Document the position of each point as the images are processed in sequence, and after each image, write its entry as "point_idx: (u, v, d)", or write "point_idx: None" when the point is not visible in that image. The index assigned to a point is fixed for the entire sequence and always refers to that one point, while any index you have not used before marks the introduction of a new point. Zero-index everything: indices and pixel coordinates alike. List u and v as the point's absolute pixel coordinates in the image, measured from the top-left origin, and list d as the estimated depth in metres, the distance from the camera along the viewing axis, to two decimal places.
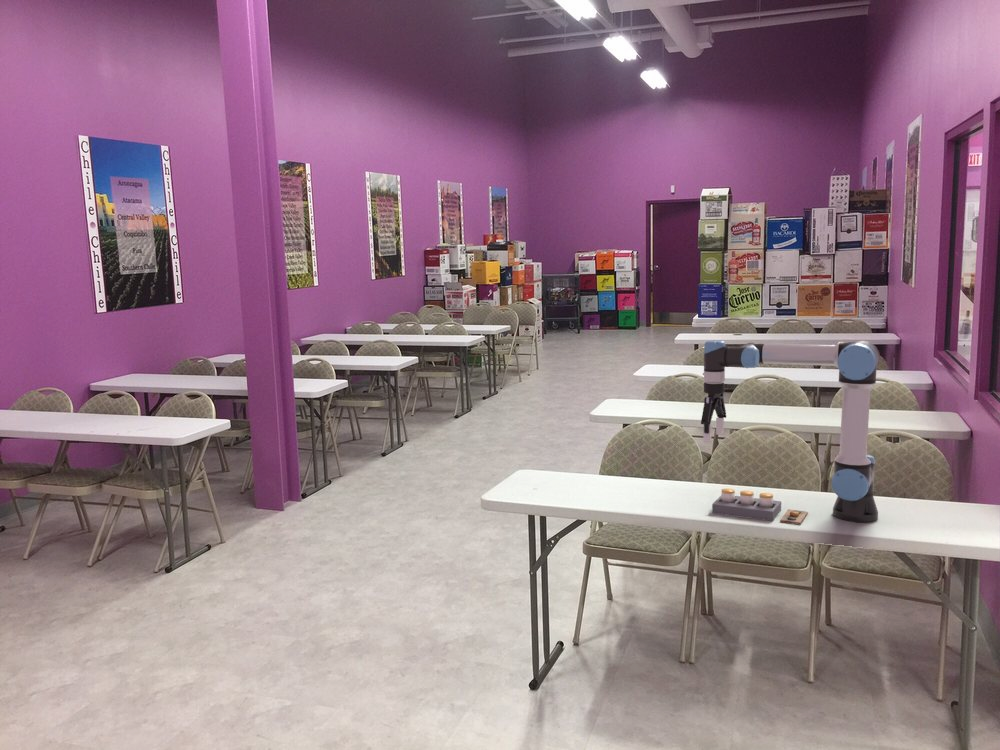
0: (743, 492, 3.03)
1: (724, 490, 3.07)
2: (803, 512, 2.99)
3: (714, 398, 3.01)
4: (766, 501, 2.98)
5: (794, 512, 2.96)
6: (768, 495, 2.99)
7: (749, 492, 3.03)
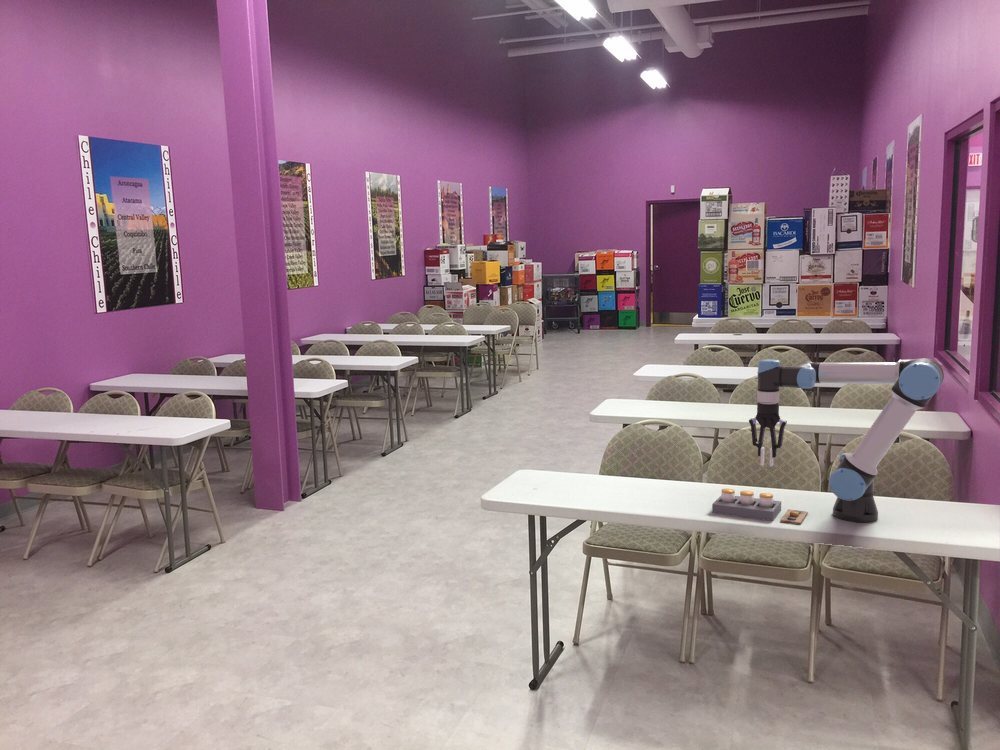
0: (743, 492, 3.03)
1: (724, 490, 3.07)
2: (803, 512, 2.99)
3: (759, 417, 2.96)
4: (766, 501, 2.98)
5: (794, 512, 2.96)
6: (768, 495, 2.99)
7: (749, 492, 3.03)
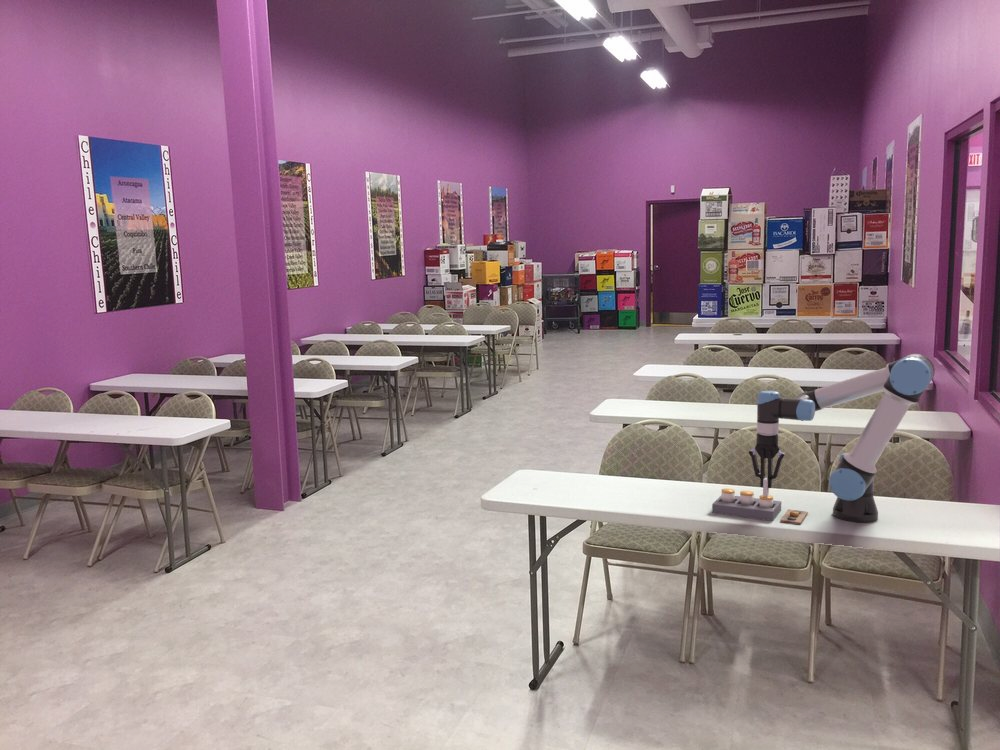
0: (743, 492, 3.03)
1: (724, 490, 3.07)
2: (803, 512, 2.99)
3: (759, 448, 2.98)
4: (766, 503, 2.98)
5: (794, 512, 2.96)
6: (768, 497, 2.99)
7: (749, 492, 3.03)
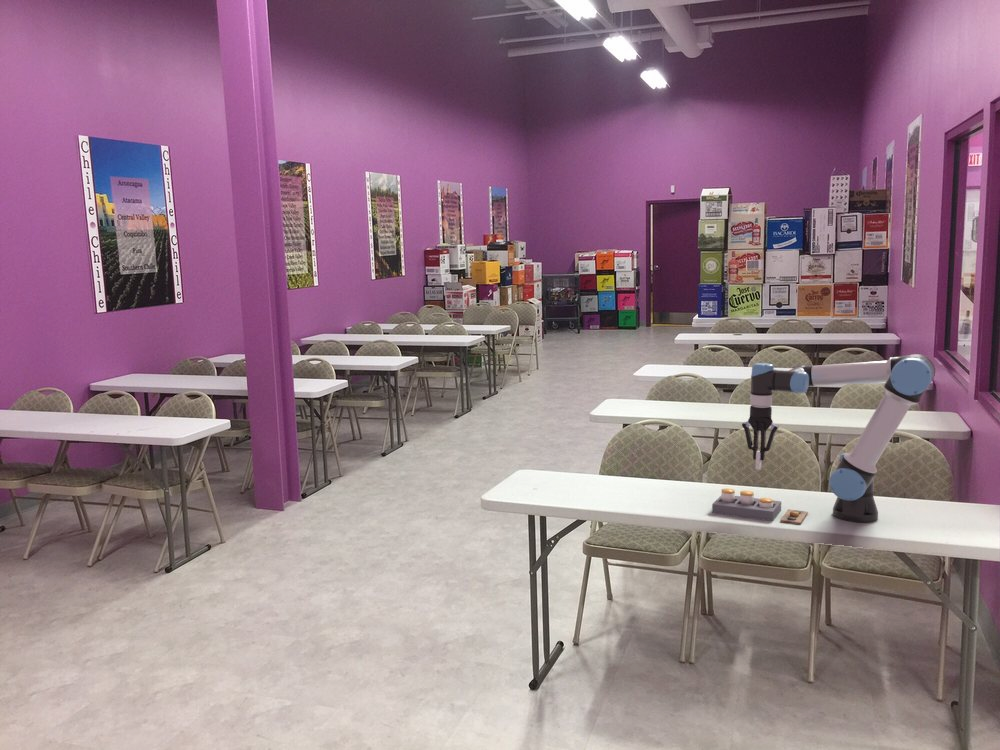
0: (743, 492, 3.03)
1: (724, 490, 3.07)
2: (803, 512, 2.99)
3: (752, 420, 2.98)
4: (766, 506, 2.98)
5: (794, 512, 2.96)
6: (768, 500, 2.99)
7: (749, 492, 3.03)
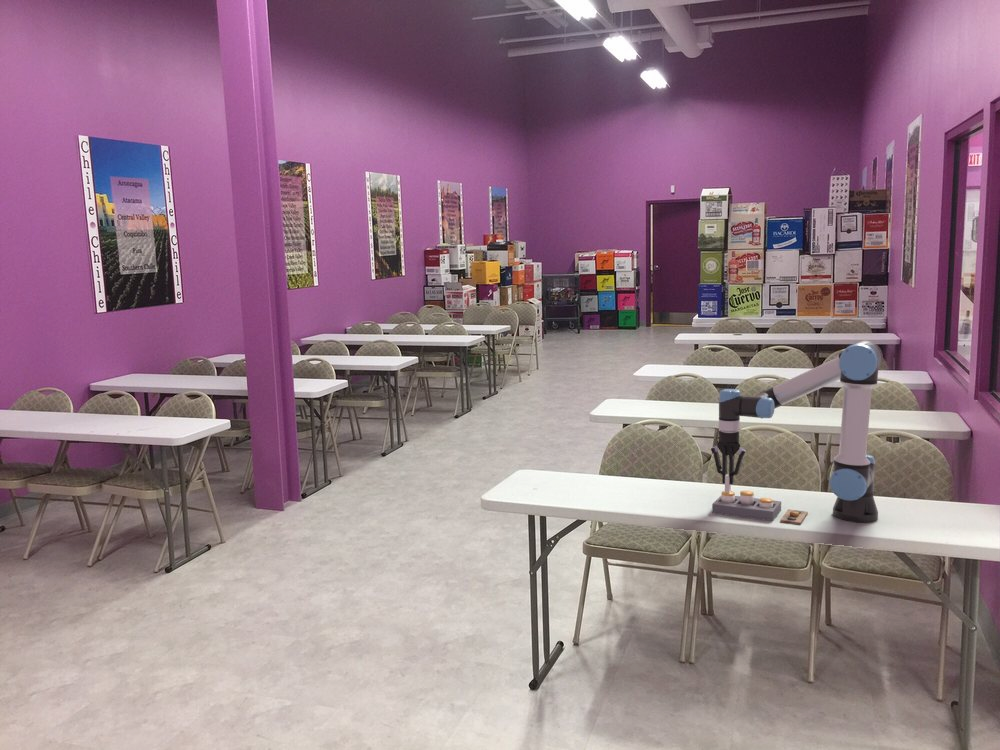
0: (743, 492, 3.03)
1: (724, 492, 3.07)
2: (803, 512, 2.99)
3: (720, 445, 3.05)
4: (766, 506, 2.98)
5: (794, 512, 2.96)
6: (768, 500, 2.99)
7: (749, 492, 3.03)
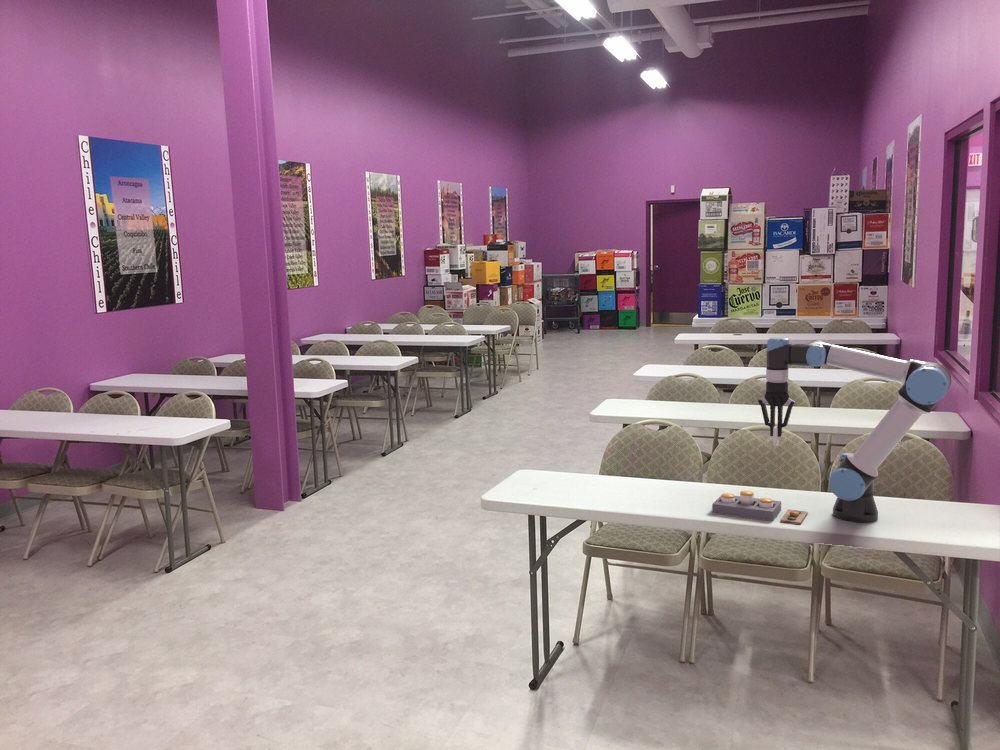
0: (743, 492, 3.03)
1: (724, 494, 3.08)
2: (803, 512, 2.99)
3: (768, 396, 2.94)
4: (766, 506, 2.98)
5: (794, 512, 2.96)
6: (768, 500, 2.99)
7: (749, 492, 3.03)
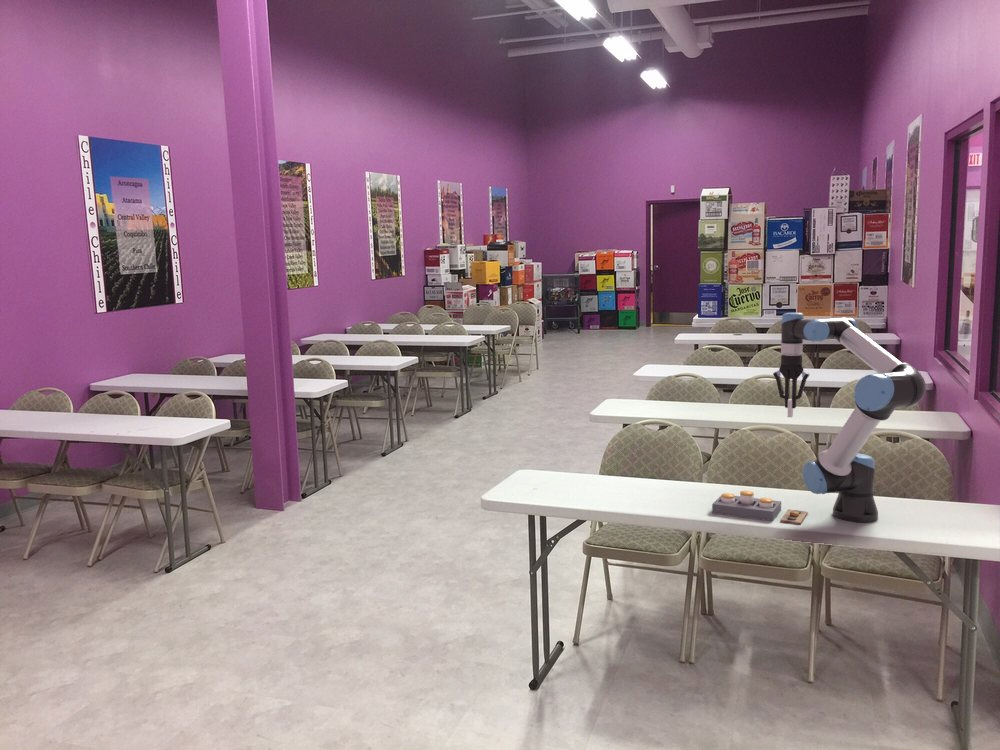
0: (743, 492, 3.03)
1: (724, 494, 3.08)
2: (803, 512, 2.99)
3: (783, 369, 3.04)
4: (766, 506, 2.98)
5: (794, 512, 2.96)
6: (768, 500, 2.99)
7: (749, 492, 3.03)
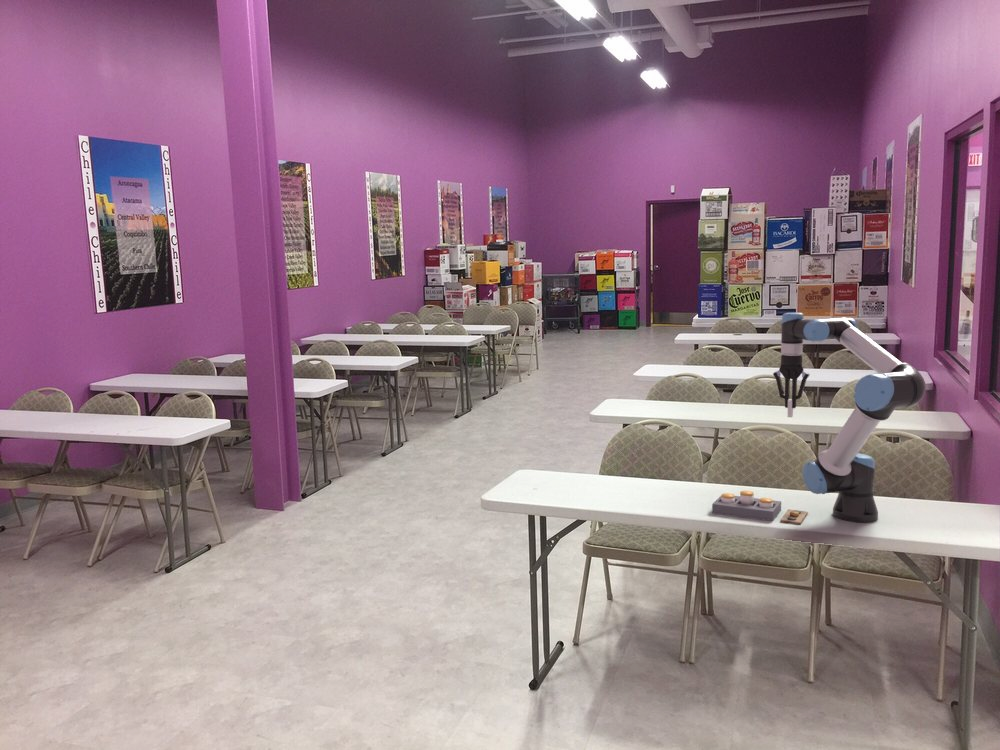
0: (743, 492, 3.03)
1: (724, 494, 3.08)
2: (803, 512, 2.99)
3: (783, 369, 3.04)
4: (766, 506, 2.98)
5: (794, 512, 2.96)
6: (768, 500, 2.99)
7: (749, 492, 3.03)
